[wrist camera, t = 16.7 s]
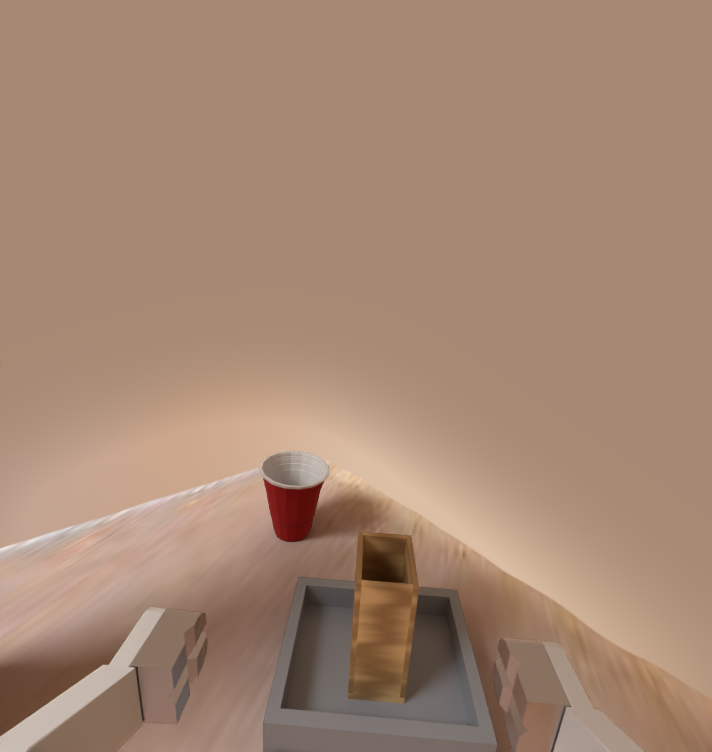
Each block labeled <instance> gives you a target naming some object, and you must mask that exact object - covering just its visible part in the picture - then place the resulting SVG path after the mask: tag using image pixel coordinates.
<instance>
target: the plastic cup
mask: <svg viewBox="0 0 712 752" xmlns="http://www.w3.org/2000/svg"><path fill="white" fill-rule="evenodd" d="M259 469H260V472H261V474H262V476H263V480H264V483H265V487H266V492H267V498H268V503H269V509H270V514H271V517H272V522H273V527H274V530H275V533H276V535H277V537H278V538H280V539H281V540H284V541H287V542H295V541H299V540H302V539H303V538H305V537H306V536H307V535H308V533H309V532H310V529H311V526H312V521H313V516H314V514H315V510H316V506H317V502H318V498H319V494H320V490H321V488H322V484H323V483H324V480H325V479H326V478H327V477H328V475H329V466H328V465H327V464H326V462H325V461H324V460H323V459H321V458H319V457H317V456H316V455H313V454H310V453H306V452H301V451H284V452H277V453H275V454H272V455H269V456H267V457H266V458H265V459H264V460H263V461H262V462H261V465H260V468H259Z"/></svg>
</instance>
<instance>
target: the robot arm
mask: <svg viewBox="0 0 712 752" xmlns="http://www.w3.org/2000/svg"><path fill="white" fill-rule="evenodd" d="M205 624H206V616H205V613H202V612H194V611H185V610H177V609H167V608H157V607H150V608H149V609H147V610H146V611H145V612H144V614H143V615H142V616H141V618H140V619H139V621H138V622H137V624H136V625H135V627H134V628H133V630H132V631H131V633H130V634H129V636H128V637H127V639H126V640H125V642H124V643H123V645H122V646H121V647H120V649H119V650H118V652H117V653H116V655H115V656H114V658H113V659H112V661H111V662H110V664H109V665H102V666H100V667H99V668H98V669H96V670H95V671H93V672H92V673H90V674H89V675H88V676H86V677H85V678H83V679H82V680H80V681H79V682H78V683H76V684H75V685H73V686H72V687H70V688H69V689H68V690H66V691H65V692H63V693H62V694H60V695H59V696H58V697H56V698H55V699H53V700H52V701H50V702H49V703H47V704H46V705H45V706H43V707H42V708H40V709H39V710H37V711H36V712H35V713H33V714H32V715H30V716H29V717H27V718H26V719H25V720H23V721H22V722H20V723H19V724H17V725H16V726H15V727H13V728H12V729H10V730H9V731H7V732H6V733H5V734H3V735H2V736H0V752H116V751H117V750H118V749H119V748H120V747H121V746H122V745H123V744H124V743H125V742H126V741H127V740H128V739H129V738H130V737H131V736H132V735H133V734H134V733H135V732H136V731H137V730H138V729H139V728H140V727H141V726H142V725H143V722H146V723H163V724H177V723H178V721H179V719H180V716H181V714H182V712H183V710H184V707H185V705H186V703H187V700H188V698H189V696H190V690H189V684H190V683H191V682H192V681H193V680H195V679H196V678H197V677H198V675H199V673H200V670H201V668H202V666H203V662H204V659H205V655H206V650H207V635H206V634H205V632H204V631H203V628H204V626H205ZM498 650H499V653H500V657H499V658H498V659H497V660H495V665H494V686H495V691H496V695H497V699H498V703H499V705H500V706H501V707H502V708H503V710H504V711H505V712H506V713H507V716H506V721H505V727H506V730H507V734H508V737H509V740H510V744H511V747H512V750H513V752H645V751H644V750H643V749H642V748H641V747H639V746H638V745H637V744H636V743H635V742H634V741H633V740H632V739H631V738H630V737H629V736H628V735H627V734H626V733H625V732H624V731H622V730H621V729H620V728H619V727H618V726H617V725H616V724H615V723H614V722H613V721H612V720H611V719H610V718H609V717H608V716H606V715H605V714H604V713H603V712H602V711H601V710H596V709H594V707H593V705H592V703H591V701H590V699H589V697H588V695H587V693H586V691H585V690H584V688H583V686H582V684H581V682H580V680H579V678H578V676H577V674H576V672H575V670H574V668H573V666H572V664H571V662H570V660H569V658H568V656H567V654H566V652H565V650H564V649H563V647H562V645H561V644H560V643H559V642H547V641H537V640H526V639H512V638H501V640H500V641H499V645H498Z"/></svg>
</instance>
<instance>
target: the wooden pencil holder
mask: <svg viewBox="0 0 712 752" xmlns="http://www.w3.org/2000/svg"><path fill="white" fill-rule="evenodd" d="M418 593H419V586H418V579H417V572H416V565H415V559H414V552H413V545H412V538H411V536H409V535H397V534H384V533H371V532H359V534H358V548H357V562H356V576H355V589H354V603H353V617H352V631H351V647H350V665H349V682H348V699H357V700H368V701H379V702H390V703H401V704H404V701H405V693H406V685H407V678H408V670H409V662H410V654H411V647H412V639H413V631H414V624H415V616H416V608H417V600H418Z"/></svg>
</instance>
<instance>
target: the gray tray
mask: <svg viewBox="0 0 712 752" xmlns="http://www.w3.org/2000/svg"><path fill="white" fill-rule="evenodd" d="M354 589H355V582H354V581H342V580H330V579H318V578H306V577H298V581H297V585H296V589H295V594H294V598H293V602H292V606H291V610H290V614H289V618H288V622H287V626H286V630H285V635H284V639H283V643H282V647H281V651H280V655H279V659H278V663H277V667H276V671H275V676H274V680H273V684H272V688H271V692H270V696H269V700H268V704H267V708H266V712H265V716H264V721H263V752H496V749H497V745H498V744H497V741H496V737H495V733H494V729H493V725H492V722H491V718H490V714H489V710H488V706H487V703H486V699H485V695H484V691H483V687H482V684H481V680H480V676H479V672H478V668H477V665H476V661H475V657H474V653H473V649H472V646H471V642H470V638H469V634H468V630H467V627H466V623H465V619H464V615H463V611H462V607H461V604H460V600H459V596H458V592H457V590H450V589H438V588H426V587H419V593H418V600H417V608H416V616H415V624H414V631H413V639H412V647H411V654H410V662H409V670H408V678H407V685H406V693H405V701H404V704H401V703H390V702H379V701H368V700H357V699H348V682H349V665H350V647H351V631H352V617H353V603H354Z"/></svg>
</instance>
